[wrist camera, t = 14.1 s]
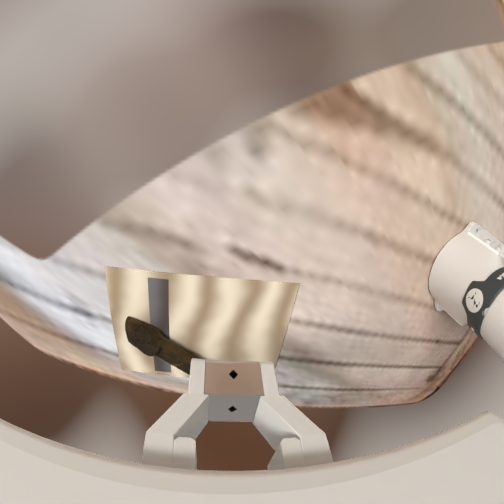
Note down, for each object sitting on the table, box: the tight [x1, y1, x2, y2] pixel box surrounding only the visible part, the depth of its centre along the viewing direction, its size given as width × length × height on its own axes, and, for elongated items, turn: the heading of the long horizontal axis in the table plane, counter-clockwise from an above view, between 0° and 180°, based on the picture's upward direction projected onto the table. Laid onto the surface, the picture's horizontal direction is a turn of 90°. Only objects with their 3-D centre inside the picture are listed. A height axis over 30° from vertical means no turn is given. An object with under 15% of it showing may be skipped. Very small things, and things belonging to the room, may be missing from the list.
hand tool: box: [125, 316, 206, 375], centre depth 43 cm, size 19×4×5 cm, turn 41°
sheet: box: [105, 266, 300, 378], centre depth 44 cm, size 28×22×1 cm
